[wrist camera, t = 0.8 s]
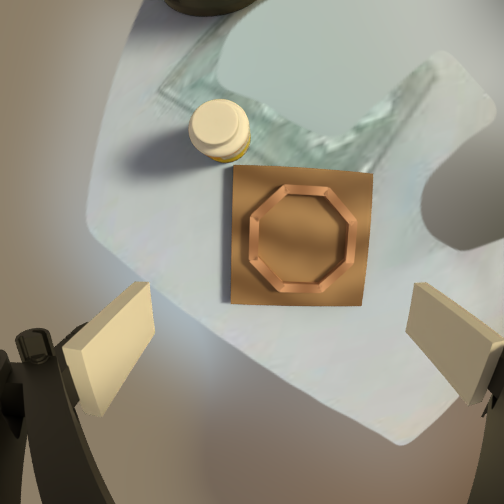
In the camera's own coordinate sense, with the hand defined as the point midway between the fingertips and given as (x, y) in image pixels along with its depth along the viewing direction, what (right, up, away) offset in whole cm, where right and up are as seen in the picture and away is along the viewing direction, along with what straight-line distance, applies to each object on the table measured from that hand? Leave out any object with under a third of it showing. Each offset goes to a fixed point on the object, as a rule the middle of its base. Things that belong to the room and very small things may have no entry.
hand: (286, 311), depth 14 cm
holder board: (+4, +4, +22) cm, 22 cm away
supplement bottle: (-4, +16, +20) cm, 26 cm away
